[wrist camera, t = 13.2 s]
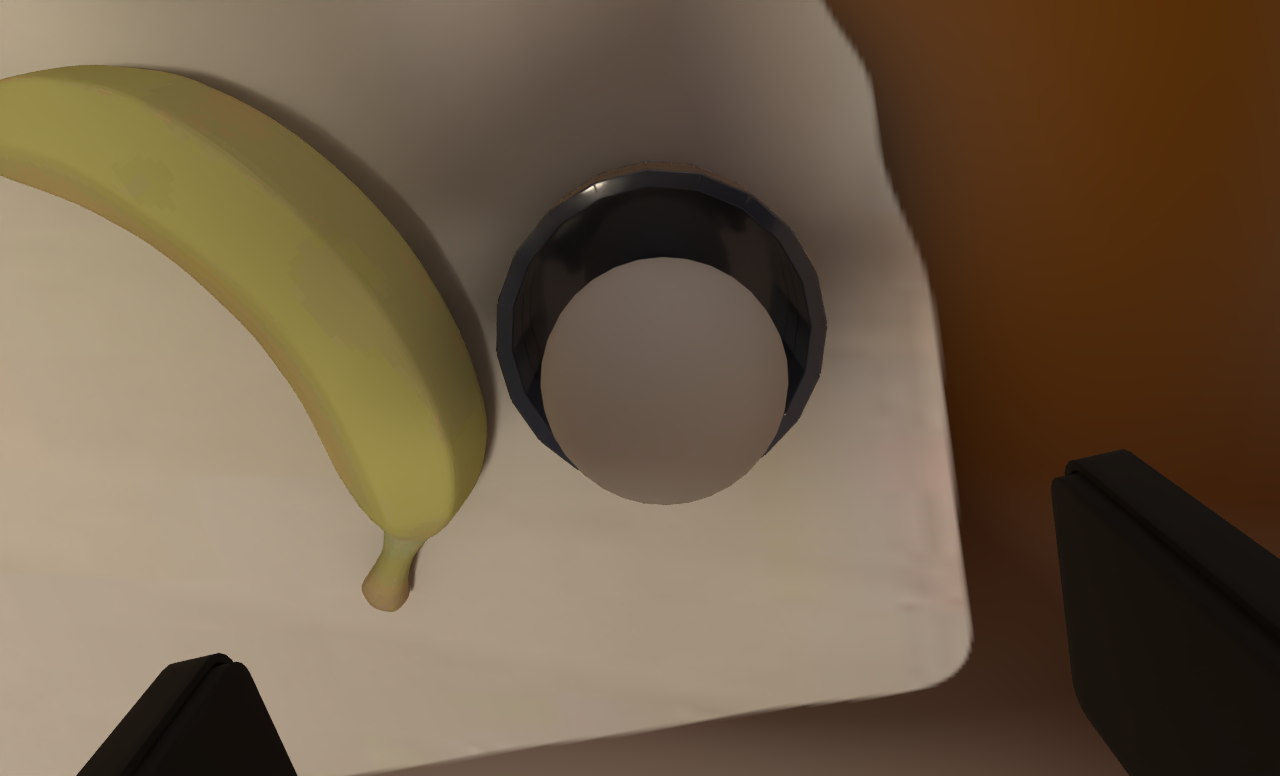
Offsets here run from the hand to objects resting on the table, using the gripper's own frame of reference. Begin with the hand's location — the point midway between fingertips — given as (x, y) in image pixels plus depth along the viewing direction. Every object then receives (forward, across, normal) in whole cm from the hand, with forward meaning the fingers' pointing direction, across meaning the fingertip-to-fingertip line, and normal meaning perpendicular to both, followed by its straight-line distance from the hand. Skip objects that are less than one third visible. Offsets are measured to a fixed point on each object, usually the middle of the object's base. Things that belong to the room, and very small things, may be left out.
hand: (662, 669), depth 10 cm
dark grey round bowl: (+21, 0, +1) cm, 21 cm away
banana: (+21, +13, -1) cm, 25 cm away
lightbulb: (+21, 0, +1) cm, 21 cm away
